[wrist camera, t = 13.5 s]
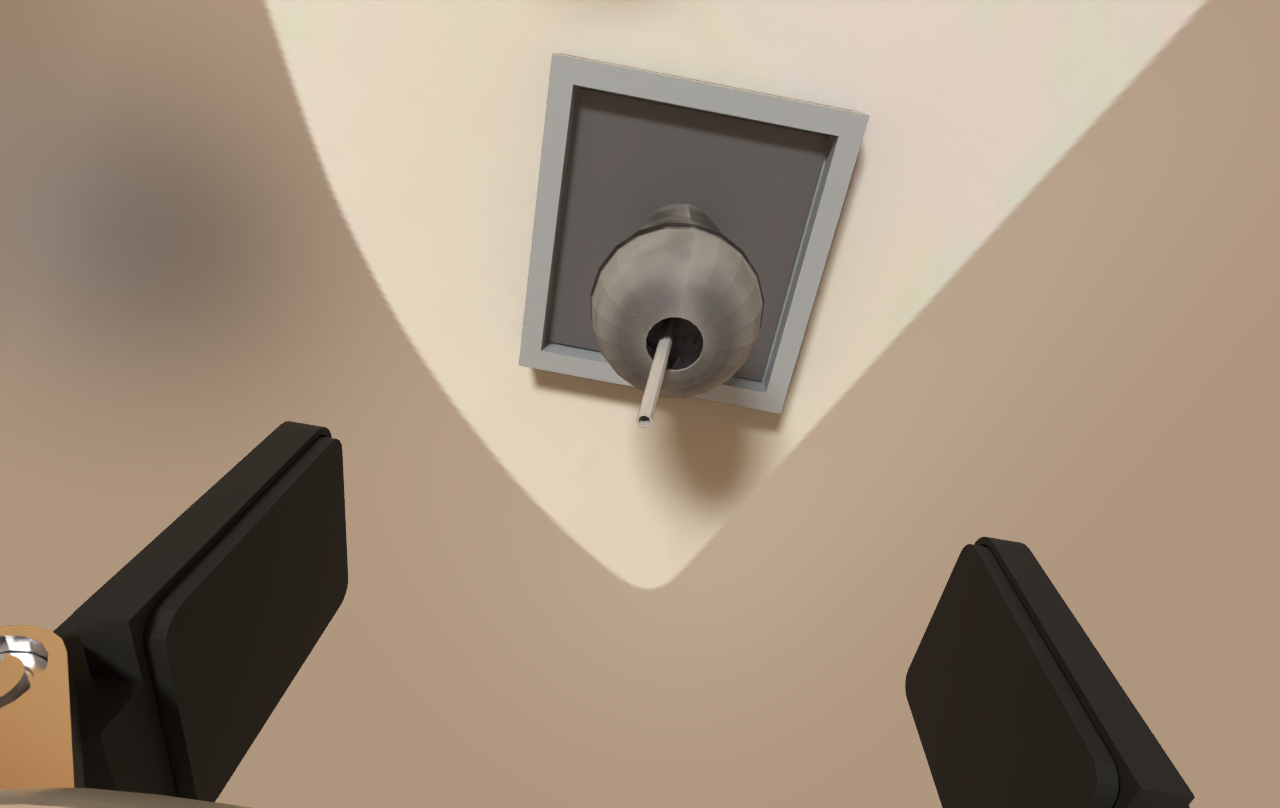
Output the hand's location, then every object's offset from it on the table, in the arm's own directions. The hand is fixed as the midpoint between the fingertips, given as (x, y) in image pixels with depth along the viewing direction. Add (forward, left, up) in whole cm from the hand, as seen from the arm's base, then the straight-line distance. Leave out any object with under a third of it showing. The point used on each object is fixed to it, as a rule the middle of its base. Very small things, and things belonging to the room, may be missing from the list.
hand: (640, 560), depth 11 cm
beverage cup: (-1, +3, -32) cm, 32 cm away
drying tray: (-1, +3, -33) cm, 33 cm away
